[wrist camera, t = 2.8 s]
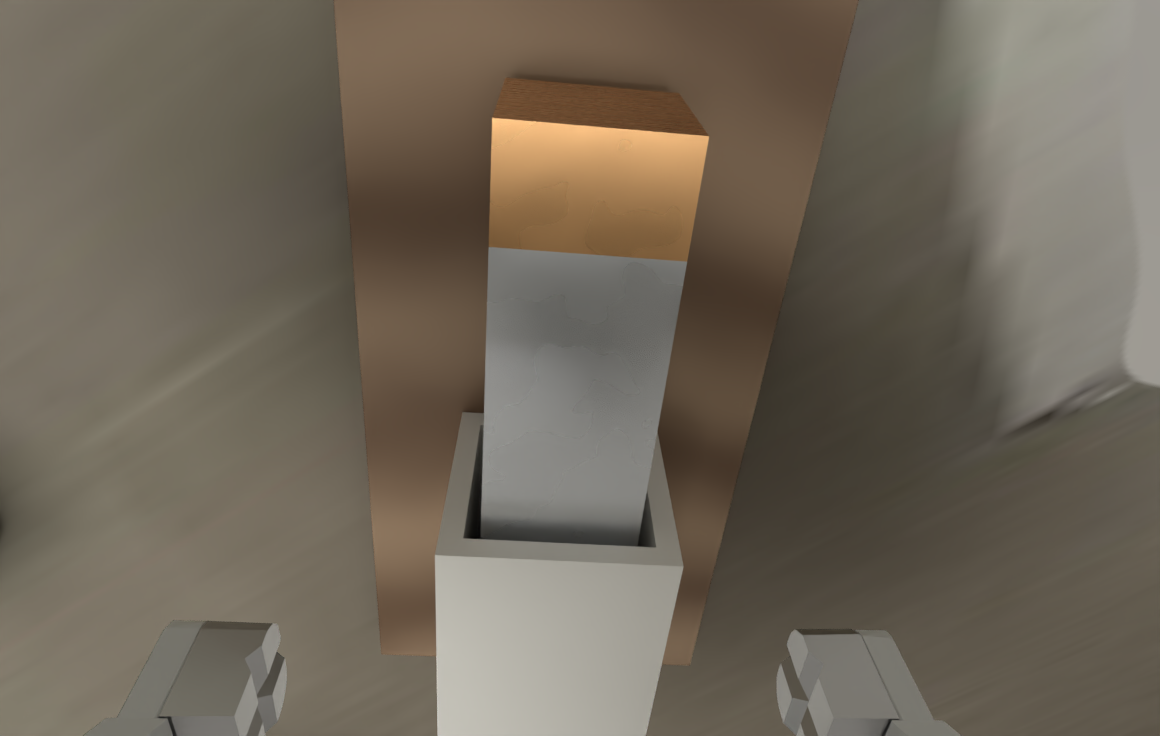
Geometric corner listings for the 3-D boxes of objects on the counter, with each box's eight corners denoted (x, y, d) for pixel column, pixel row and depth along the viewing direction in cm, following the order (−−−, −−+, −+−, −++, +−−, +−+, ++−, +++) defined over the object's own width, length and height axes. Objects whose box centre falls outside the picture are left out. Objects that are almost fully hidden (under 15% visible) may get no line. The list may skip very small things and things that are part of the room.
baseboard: (686, 644, 30) (689, 665, 29) (386, 632, 29) (381, 654, 29) (996, -627, 13) (1027, -664, 12) (295, -739, 12) (275, -789, 11)
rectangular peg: (595, 649, 27) (600, 755, 24) (485, 645, 27) (474, 751, 23) (679, 93, 17) (709, 136, 14) (505, 77, 17) (492, 117, 13)
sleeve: (617, 647, 29) (629, 806, 24) (460, 641, 28) (438, 801, 23) (655, 423, 23) (683, 566, 18) (462, 411, 23) (434, 555, 18)
